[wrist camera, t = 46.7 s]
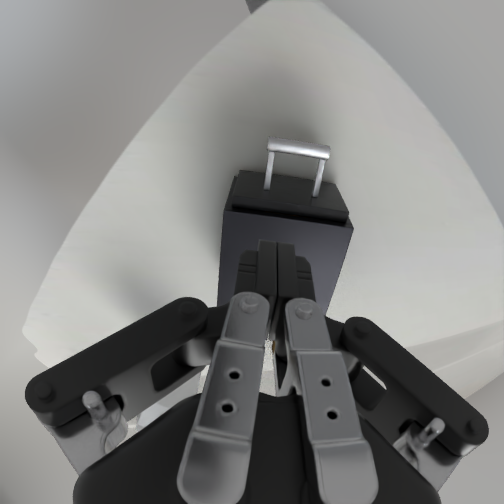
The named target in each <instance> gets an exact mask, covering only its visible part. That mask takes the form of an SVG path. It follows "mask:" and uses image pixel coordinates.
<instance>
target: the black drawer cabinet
mask: <svg viewBox="0 0 504 504" xmlns="http://www.w3.org/2000/svg"><path fill="white" fill-rule="evenodd" d="M237 178H238V177H236V176H234V179H233V182H232V186H231V189H230V192H229V195H228V198H227V202H226V205H225V208H224V214H223V226H222V239H221V253H220V267H219V281H218V297H217V307H219V306H222V305H225V304H226V303H228V302H229V301H230V300H231V299H232V297H233V296H234V290H235V284H236V277H237V271H238V264H239V258H240V255H241V254H242V253H243V252H244V251H245V250H254V251H258V244H259V240H267V241H274V242H276V244H277V242H283V243H290V244H294V248H295V256H302V257H305V258H306V259H307V261H308V262H309V263H310V265H311V271H312V278H313V284H314V290H315V297H316V303H317V304H318V305H319V306H320V307H321V308H322V310H323V313H324V315H326V312H327V309H328V306H329V303H330V301H331V298H332V295H333V292H334V289H335V286H336V283H337V280H338V277H339V274H340V271H341V268H342V265H343V262H344V259H345V256H346V252H347V249H348V246H349V243H350V239H351V236H352V233H353V230H354V228H353V226H352V223H351V221H350V219H349V216H348V219H347V222H346V223H344V222H338V221H332V222H331V221H324V220H318V219H311V218H304V217H297V216H289V215H282V214H275V213H267V212H260V211H252V210H244V209H240V208H236V207H231V204H232V195H233V192H234V188H235V185H236V181H237Z"/></svg>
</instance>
